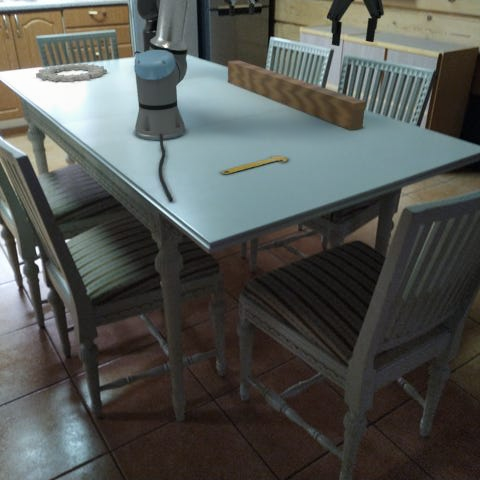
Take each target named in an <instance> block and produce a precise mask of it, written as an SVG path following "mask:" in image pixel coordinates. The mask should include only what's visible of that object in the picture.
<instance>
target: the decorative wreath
mask: <svg viewBox="0 0 480 480" xmlns="http://www.w3.org/2000/svg"><path fill="white" fill-rule="evenodd" d="M73 70H74V71H79V70H82V71H87V72H86V73H83V72H82V73H80V74H74V73H73V74H72V73H71V74H69V75H68V74H58V73H60V72H63V71H67V72H68V71H73ZM107 73H108V71H107V68H105V66H104V65H102V66H101V65H96V64H94V63H92V64H88V63H85V64H84V63H83V64H82V63H77V64H73V63H72V64H63V65H55V66H48V67H45V68H43V69H38V72H36V73H35V75H36V78H40V79H41V80H42V81H51V82H55V83H57V82H71V83H72V82H74V81H90V79H95V78H101V77H103V74H107Z"/></svg>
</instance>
